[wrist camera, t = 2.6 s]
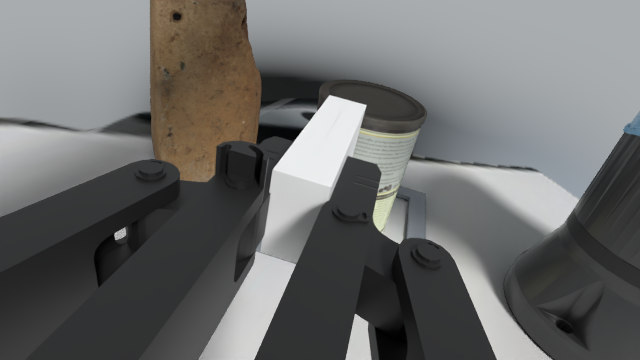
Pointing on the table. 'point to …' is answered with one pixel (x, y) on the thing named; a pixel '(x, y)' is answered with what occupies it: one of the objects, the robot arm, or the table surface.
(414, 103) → the coffee can
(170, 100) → the brown rough upright block
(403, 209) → the table surface
